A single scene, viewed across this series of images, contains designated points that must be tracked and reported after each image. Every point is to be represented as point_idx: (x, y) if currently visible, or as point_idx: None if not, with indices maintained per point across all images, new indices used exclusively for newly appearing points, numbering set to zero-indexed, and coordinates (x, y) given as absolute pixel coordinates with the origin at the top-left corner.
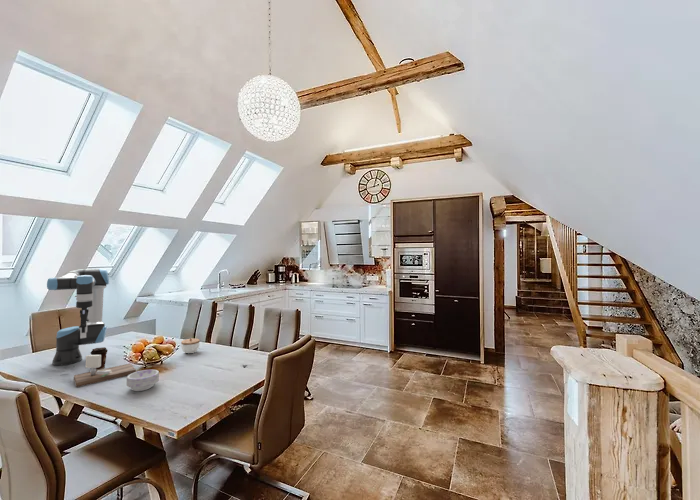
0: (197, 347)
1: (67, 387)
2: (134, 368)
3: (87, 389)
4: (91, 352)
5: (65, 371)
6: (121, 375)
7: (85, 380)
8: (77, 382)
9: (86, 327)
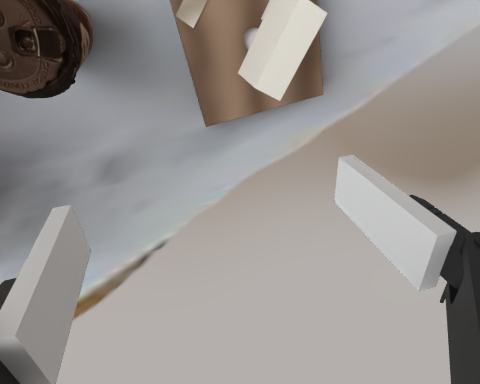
0: None
1: (294, 122)
2: None
3: (370, 43)
4: (55, 91)
5: (61, 178)
6: None
7: (316, 63)
8: (320, 92)
9: (56, 256)
